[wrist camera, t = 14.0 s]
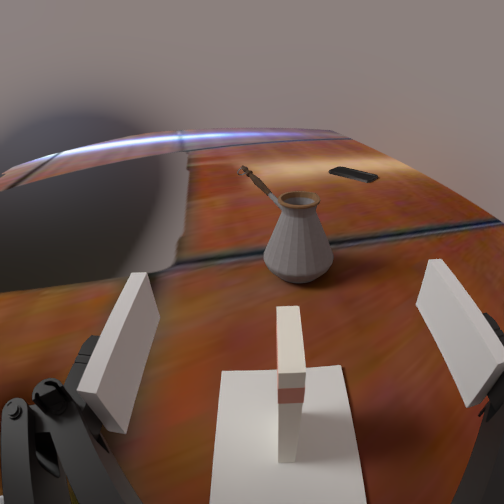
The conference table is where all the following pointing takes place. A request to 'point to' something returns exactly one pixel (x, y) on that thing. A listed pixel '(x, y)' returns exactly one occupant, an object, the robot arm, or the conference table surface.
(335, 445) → the mat
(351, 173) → the phone
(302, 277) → the coffee pot
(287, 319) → the pink striped white block
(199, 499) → the conference table surface
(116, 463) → the robot arm
